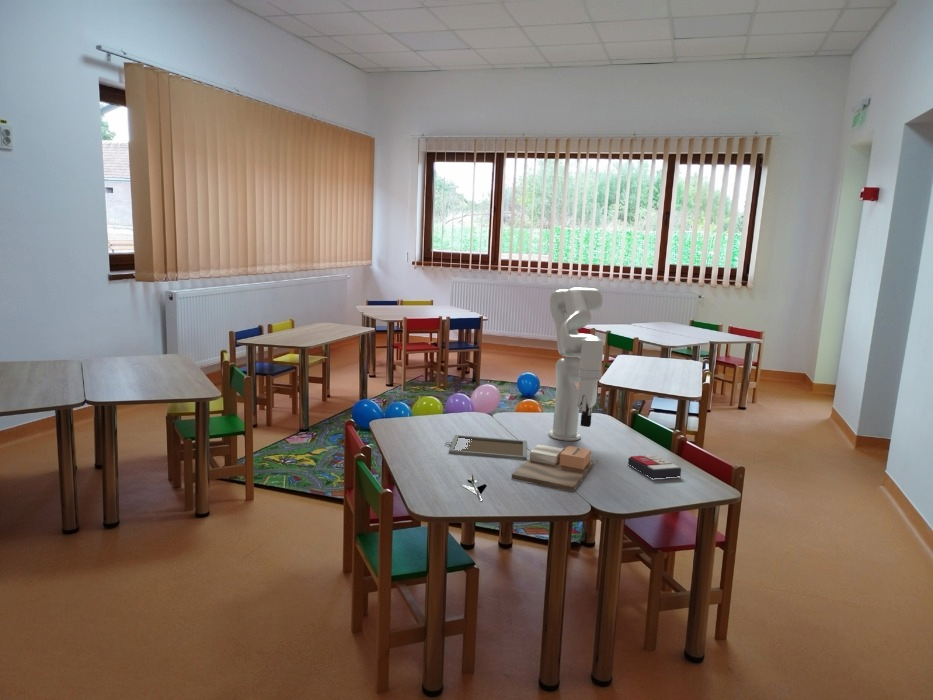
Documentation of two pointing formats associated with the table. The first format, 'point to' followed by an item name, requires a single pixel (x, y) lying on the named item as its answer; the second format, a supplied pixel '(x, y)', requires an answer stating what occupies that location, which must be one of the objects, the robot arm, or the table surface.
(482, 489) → the toy airplane
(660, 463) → the red black flat box
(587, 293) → the robot arm
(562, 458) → the tan box with slot
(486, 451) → the framed hanging board
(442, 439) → the table surface
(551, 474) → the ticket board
